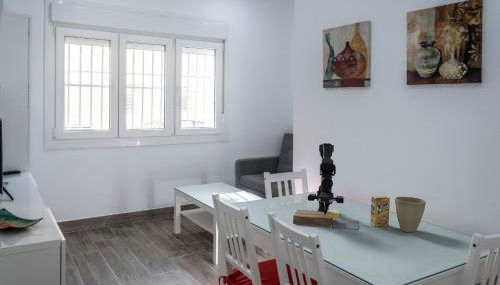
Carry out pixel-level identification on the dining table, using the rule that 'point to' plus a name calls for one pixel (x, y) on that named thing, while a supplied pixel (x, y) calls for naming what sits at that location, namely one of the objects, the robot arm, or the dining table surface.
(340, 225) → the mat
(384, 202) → the candy box
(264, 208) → the dining table surface
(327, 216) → the yellow rectangular block
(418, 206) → the plant pot
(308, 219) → the brown wooden flat block
